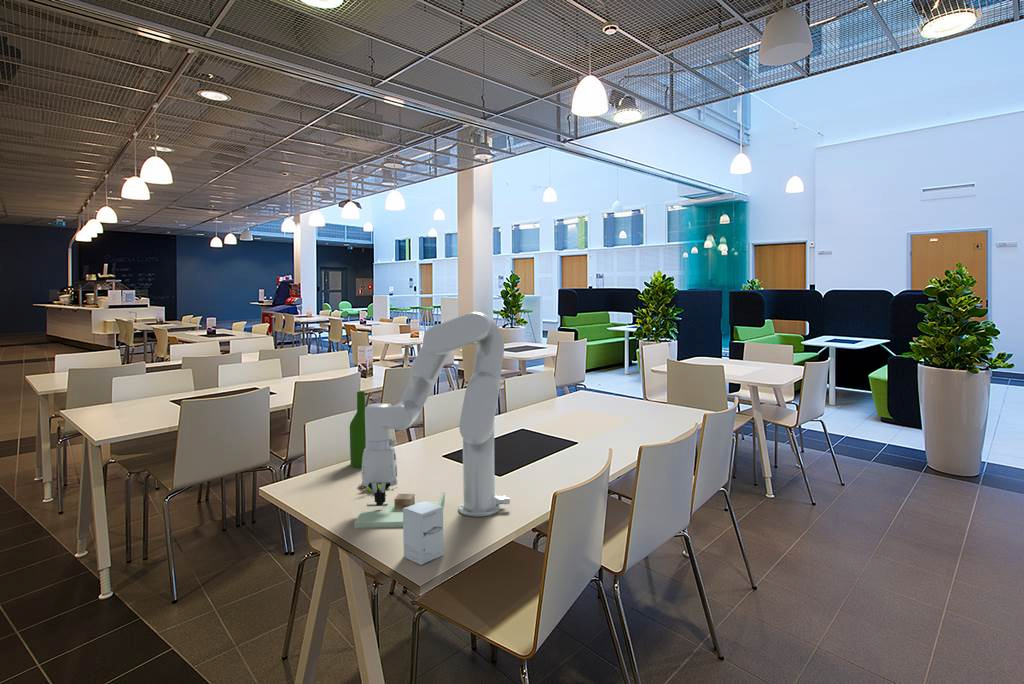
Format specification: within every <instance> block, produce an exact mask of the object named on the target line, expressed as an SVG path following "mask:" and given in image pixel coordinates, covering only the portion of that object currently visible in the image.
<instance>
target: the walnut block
mask: <svg viewBox="0 0 1024 684" xmlns="http://www.w3.org/2000/svg"><path fill="white" fill-rule="evenodd" d="M415 496H416V495H415V493H398V494H397V495H396V496H395V497H394V499H393V500H394V502H393V503H394V504H395V509H403V508H405V507H408V506H412V505H414V504H415V502H416V501H415Z"/></svg>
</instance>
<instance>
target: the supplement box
mask: <svg viewBox="0 0 1024 684" xmlns="http://www.w3.org/2000/svg"><path fill="white" fill-rule="evenodd" d="M420 502H421V503H418V504H415V505H412V506H408V507H405V508H403V527H402V528H403V530H402V534H403V536H402V537H403V558H405V559H406V560H407V559H408V560H409V561H411V562H413V563H416V564H418V565H420V566H423V565H424V564H427V563H428V562H431V561H433V560H435V559H438V558H440V557H442V556H444V551H445V550H444V549H445V548H444V547H445V546H444V539H445V538H444V508H443V506H440V505H437V504H434V503H430V502H431V501H427V500H424V501H420Z"/></svg>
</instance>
